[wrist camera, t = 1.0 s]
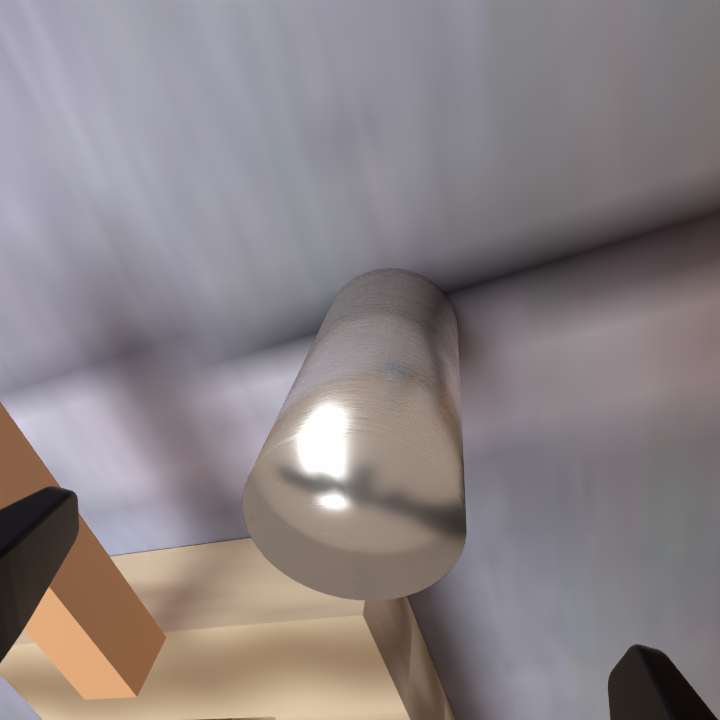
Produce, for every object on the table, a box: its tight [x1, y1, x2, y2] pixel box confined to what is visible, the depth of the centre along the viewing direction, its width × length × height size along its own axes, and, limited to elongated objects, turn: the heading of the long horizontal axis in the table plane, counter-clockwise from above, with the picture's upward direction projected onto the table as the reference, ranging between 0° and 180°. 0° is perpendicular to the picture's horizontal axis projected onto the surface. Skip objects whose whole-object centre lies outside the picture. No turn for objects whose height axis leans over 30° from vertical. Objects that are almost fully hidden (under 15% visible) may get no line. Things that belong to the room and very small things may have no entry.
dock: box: [0, 538, 456, 720], centre depth 24 cm, size 16×16×4 cm
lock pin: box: [0, 402, 166, 700], centre depth 15 cm, size 12×2×2 cm, turn 18°
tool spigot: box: [242, 269, 466, 601], centre depth 13 cm, size 4×4×8 cm
